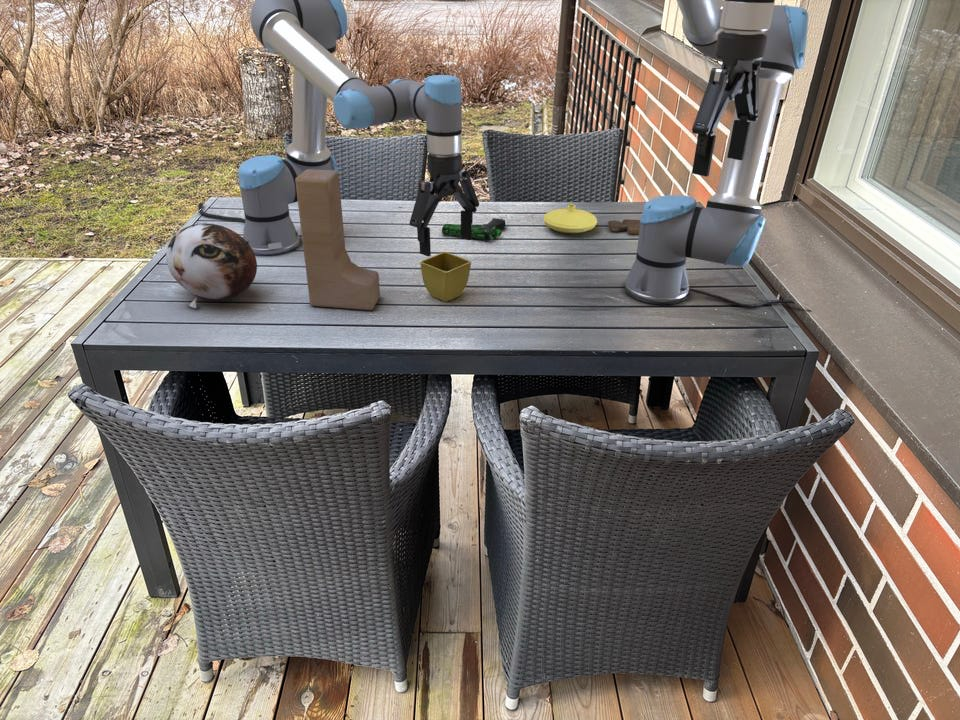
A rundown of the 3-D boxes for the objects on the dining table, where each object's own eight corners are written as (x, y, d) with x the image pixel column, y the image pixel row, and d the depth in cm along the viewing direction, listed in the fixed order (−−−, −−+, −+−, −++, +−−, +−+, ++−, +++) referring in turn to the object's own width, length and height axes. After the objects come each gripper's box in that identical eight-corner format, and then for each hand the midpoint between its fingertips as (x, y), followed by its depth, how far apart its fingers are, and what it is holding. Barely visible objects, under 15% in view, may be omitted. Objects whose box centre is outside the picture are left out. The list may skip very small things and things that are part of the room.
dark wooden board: (699, 237, 207) (691, 225, 216) (700, 231, 206) (692, 220, 215) (610, 234, 207) (606, 222, 216) (611, 228, 207) (607, 217, 215)
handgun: (511, 219, 210) (493, 234, 198) (511, 228, 211) (492, 244, 199) (461, 212, 215) (440, 226, 203) (461, 221, 217) (440, 236, 204)
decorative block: (372, 311, 163) (363, 181, 148) (309, 306, 165) (293, 177, 149) (380, 297, 169) (373, 171, 154) (319, 292, 171) (306, 168, 156)
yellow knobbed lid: (559, 216, 220) (561, 193, 217) (605, 227, 212) (608, 204, 209) (532, 230, 209) (533, 207, 206) (580, 242, 201) (582, 218, 198)
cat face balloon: (130, 285, 161) (164, 203, 163) (192, 308, 177) (221, 233, 178) (195, 307, 151) (229, 220, 152) (254, 330, 166) (285, 250, 168)
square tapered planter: (472, 295, 171) (472, 261, 167) (446, 307, 166) (446, 272, 161) (445, 285, 176) (445, 251, 172) (420, 296, 170) (419, 261, 166)
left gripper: (470, 140, 164) (470, 228, 174) (389, 161, 147) (395, 257, 158) (495, 145, 159) (493, 236, 170) (415, 168, 143) (418, 266, 154)
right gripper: (752, 23, 122) (728, 149, 133) (683, 35, 106) (663, 177, 117) (796, 27, 118) (768, 156, 129) (731, 40, 102) (705, 186, 113)
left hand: (446, 246), depth 164 cm, fingers open, 13 cm apart
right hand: (718, 166), depth 123 cm, fingers open, 13 cm apart
